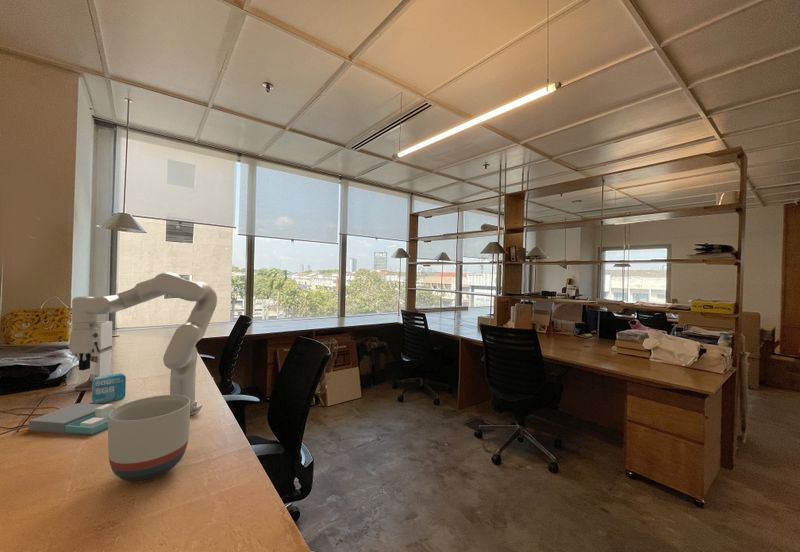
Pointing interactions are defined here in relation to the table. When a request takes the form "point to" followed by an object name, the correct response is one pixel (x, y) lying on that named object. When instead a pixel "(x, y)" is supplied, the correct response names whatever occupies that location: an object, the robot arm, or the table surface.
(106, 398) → the data package
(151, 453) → the planter
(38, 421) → the plate
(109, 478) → the table surface
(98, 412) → the beige block
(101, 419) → the beige block
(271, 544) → the table surface
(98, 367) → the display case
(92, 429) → the box
